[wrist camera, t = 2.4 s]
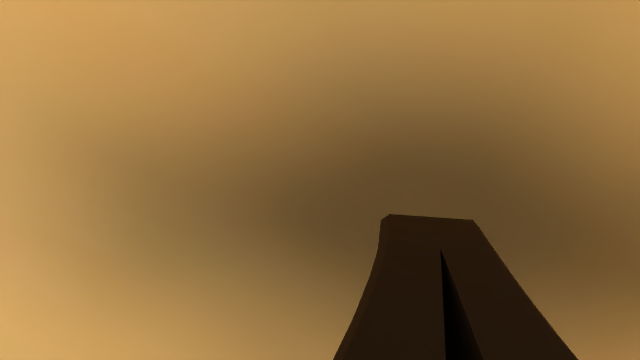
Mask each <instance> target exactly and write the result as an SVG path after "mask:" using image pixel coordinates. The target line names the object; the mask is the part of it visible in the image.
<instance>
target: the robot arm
mask: <svg viewBox="0 0 640 360" xmlns="http://www.w3.org/2000/svg"><path fill="white" fill-rule="evenodd" d="M333 360H578V359H577V358H576V356H575V355H574V354H573V353H572V352H571V350H570V349H569V348H568V347H567V346H566V344H565V343H564V342H563V341H562V339H561V338H560V337H559V336H558V334H557V333H556V332H555V331H554V329H553V328H552V327H551V325H550V324H549V323H548V322H547V320H546V319H545V318H544V317H543V315H542V314H541V313H540V311H539V310H538V309H537V308H536V306H535V305H534V304H533V303H532V301H531V300H530V299H529V297H528V296H527V295H526V293H525V292H524V291H523V289H522V288H521V286H520V285H519V284H518V282H517V281H516V280H515V278H514V277H513V275H512V274H511V273H510V271H509V270H508V268H507V267H506V266H505V264H504V263H503V261H502V260H501V259H500V257H499V256H498V254H497V253H496V251H495V250H494V249H493V247H492V246H491V244H490V243H489V241H488V240H487V238H486V237H485V235H484V234H483V232H482V231H481V230H480V228H479V227H478V226H477V224H476V223H475V222H474V221H473V220H464V219H450V218H436V217H422V216H407V215H393V214H389V215H388V216H386V217H385V218H383V219H382V220H381V226H380V235H379V244H378V251H377V255H376V258H375V261H374V265H373V268H372V271H371V274H370V277H369V280H368V282H367V285H366V287H365V290H364V292H363V295H362V298H361V300H360V303H359V305H358V308H357V310H356V313H355V315H354V317H353V319H352V322H351V324H350V326H349V328H348V330H347V332H346V334H345V336H344V338H343V340H342V342H341V344H340V346H339V348H338V351H337V353H336V355H335V357H334V359H333Z"/></svg>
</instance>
